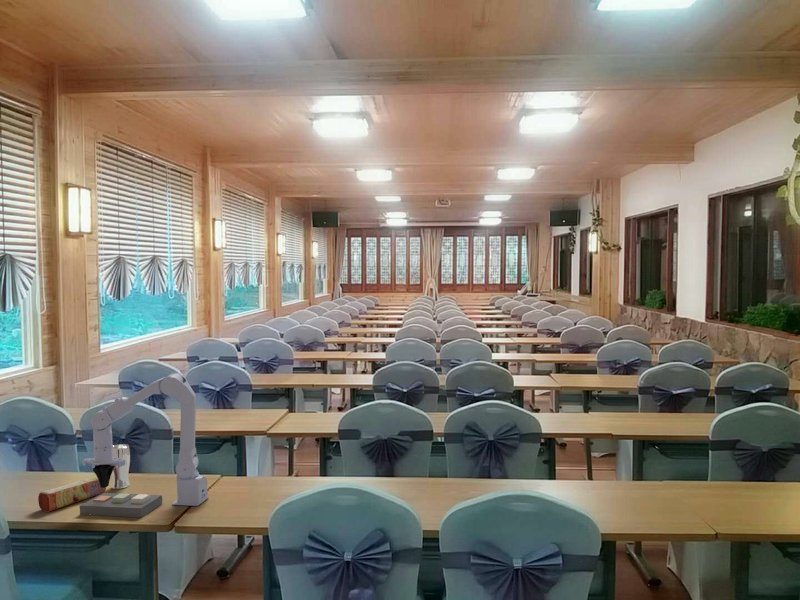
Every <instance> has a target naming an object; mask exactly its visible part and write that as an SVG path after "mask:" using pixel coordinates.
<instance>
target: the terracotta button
mask: <svg viewBox="0 0 800 600" xmlns="http://www.w3.org/2000/svg"><path fill="white" fill-rule="evenodd" d="M111 498H112V496H100V497H98V498H96V499H94V500H93V502H106V501H108V500H109V499H111Z"/></svg>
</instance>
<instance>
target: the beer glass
mask: <svg viewBox="0 0 800 600" xmlns="http://www.w3.org/2000/svg"><path fill="white" fill-rule="evenodd" d="M130 451H131V450H130V445H129V444H126V443H123V444H122V443H120V444H115V445H113V457H114V458H119V459H125V465H124V466H122V467H119V466H115V468H114V469H113V472H112V474H111V476H112V482H111V489H112V490H122V488H123V489H125V488H128V487H129V486H130V485H131V483H130V480H129V478H130V477H129V472H130V471H129V470H130V466H131V465H130V464H131V452H130Z"/></svg>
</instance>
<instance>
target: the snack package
mask: <svg viewBox="0 0 800 600" xmlns="http://www.w3.org/2000/svg"><path fill="white" fill-rule="evenodd" d="M106 490H107V487H105V488H101V485H100V482H99V480H98V477H97V476H96V475H94V476H91V477H88V478H86V479H82V480H78V481H74V482H71V483H68V484H64V485H61V486H57V487H54V488H51V489H47V490H43V491H40V492H39V494H38V499H37V501H38V506H39V509H40V510H41V511H43V512H46V511H47V512H46V513H49V512H52V511H54V510H57V509H60V508H63V507H67V506H70V505H73V504H75V502H76V503H78V502H81V501H83V500H87V499H90V497H91V498H94V497H97V496H99V495H101V494H102V493H106ZM93 496H94V497H93Z"/></svg>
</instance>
